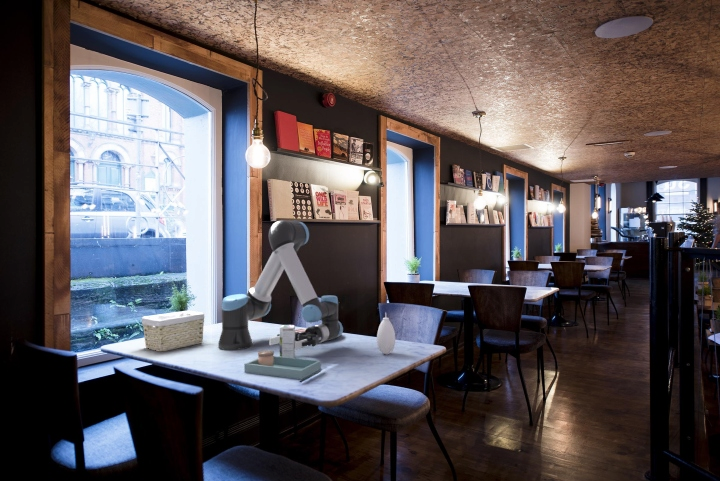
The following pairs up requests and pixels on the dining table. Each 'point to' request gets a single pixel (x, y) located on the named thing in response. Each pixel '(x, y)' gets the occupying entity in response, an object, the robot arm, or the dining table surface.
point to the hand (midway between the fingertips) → (282, 343)
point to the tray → (285, 367)
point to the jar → (265, 358)
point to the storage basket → (173, 330)
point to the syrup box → (287, 341)
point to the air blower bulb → (386, 336)
